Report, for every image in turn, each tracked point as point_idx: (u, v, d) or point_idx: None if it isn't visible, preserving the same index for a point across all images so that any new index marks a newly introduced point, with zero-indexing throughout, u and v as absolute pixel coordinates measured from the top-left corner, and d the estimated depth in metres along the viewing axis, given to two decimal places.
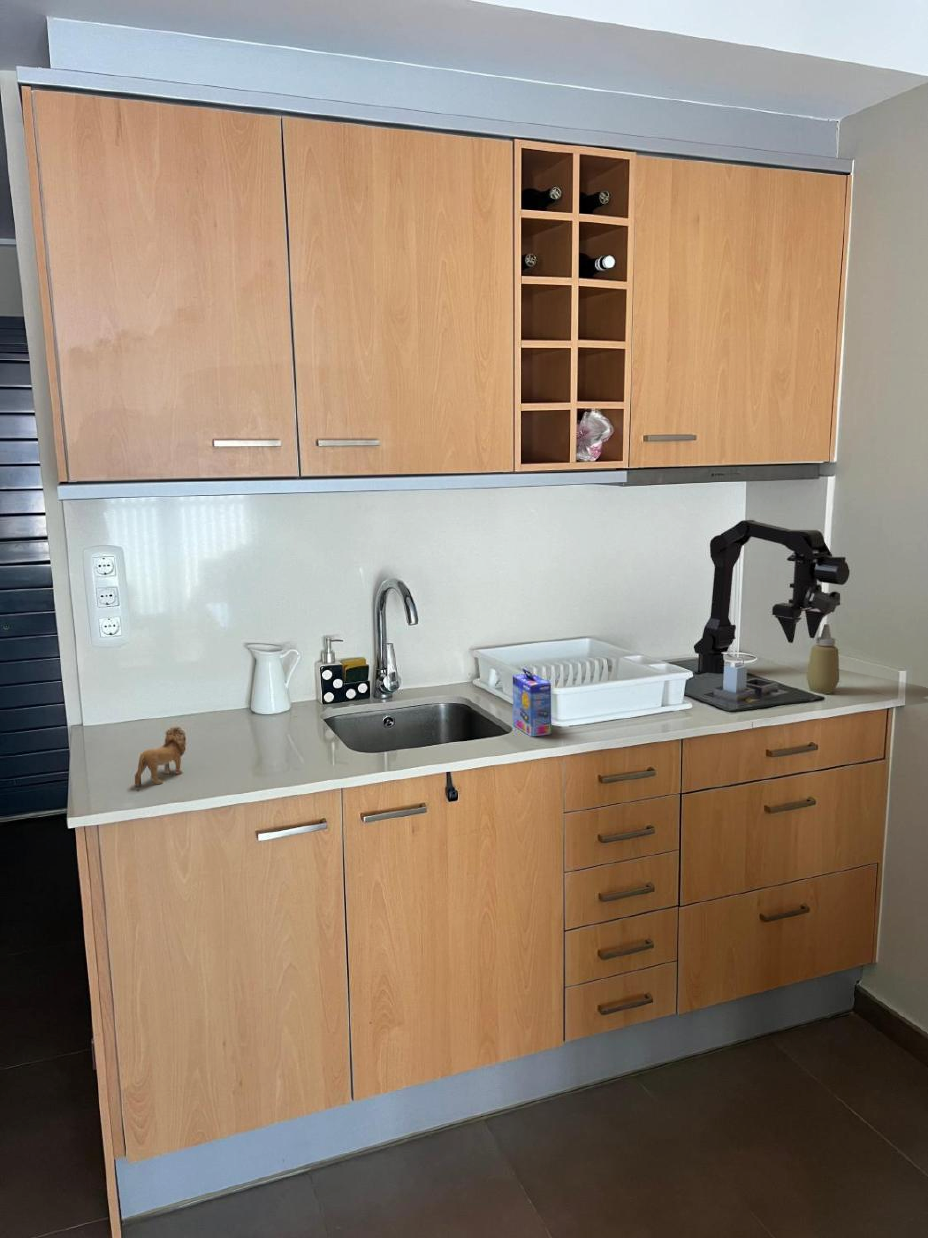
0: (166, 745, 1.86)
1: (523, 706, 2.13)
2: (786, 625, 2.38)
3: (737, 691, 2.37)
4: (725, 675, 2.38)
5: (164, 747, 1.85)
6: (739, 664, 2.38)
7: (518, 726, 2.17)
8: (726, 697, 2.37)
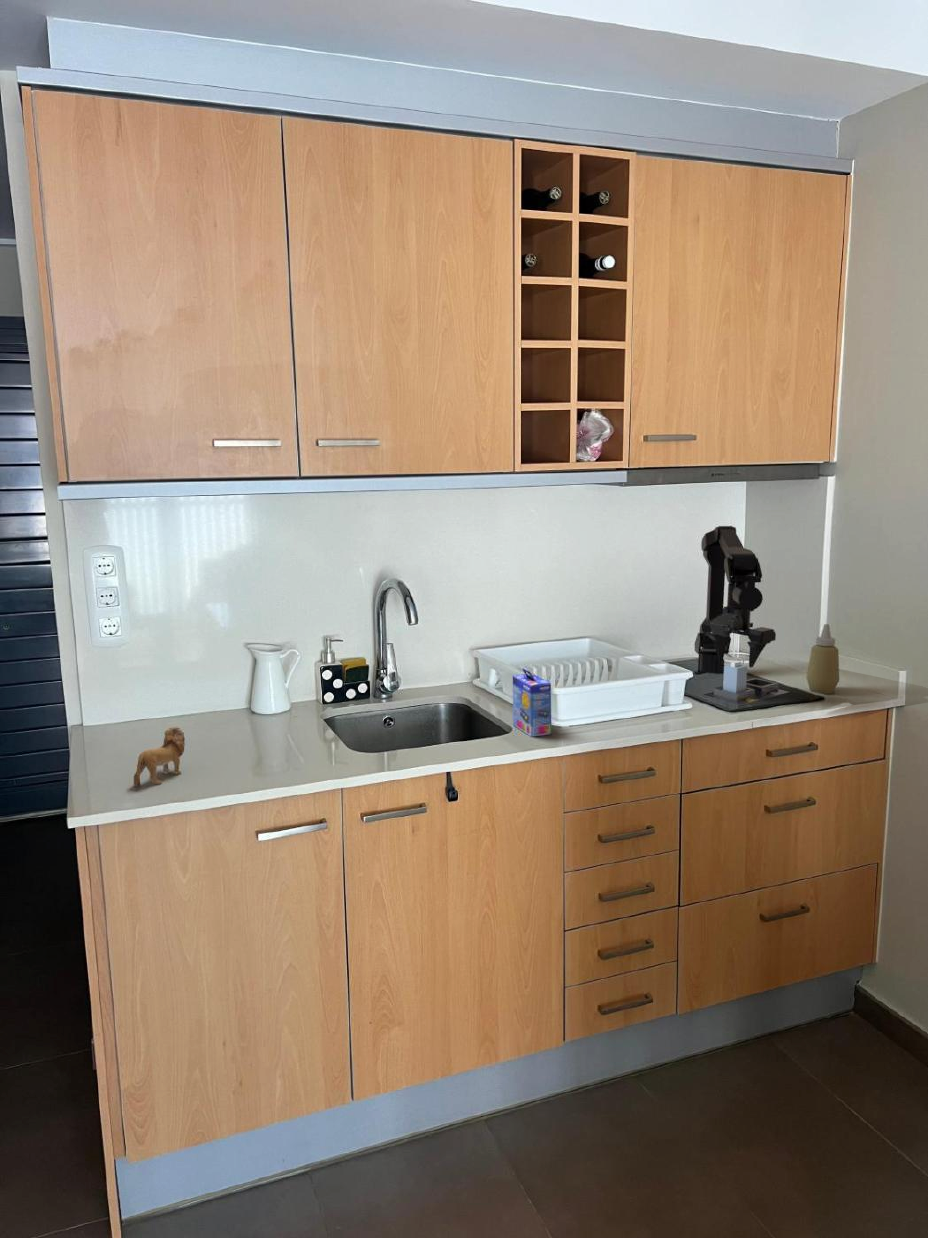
0: (165, 745, 1.86)
1: (524, 706, 2.13)
2: None
3: (737, 691, 2.37)
4: (725, 675, 2.38)
5: (163, 747, 1.85)
6: (739, 664, 2.38)
7: (518, 726, 2.17)
8: (726, 697, 2.37)
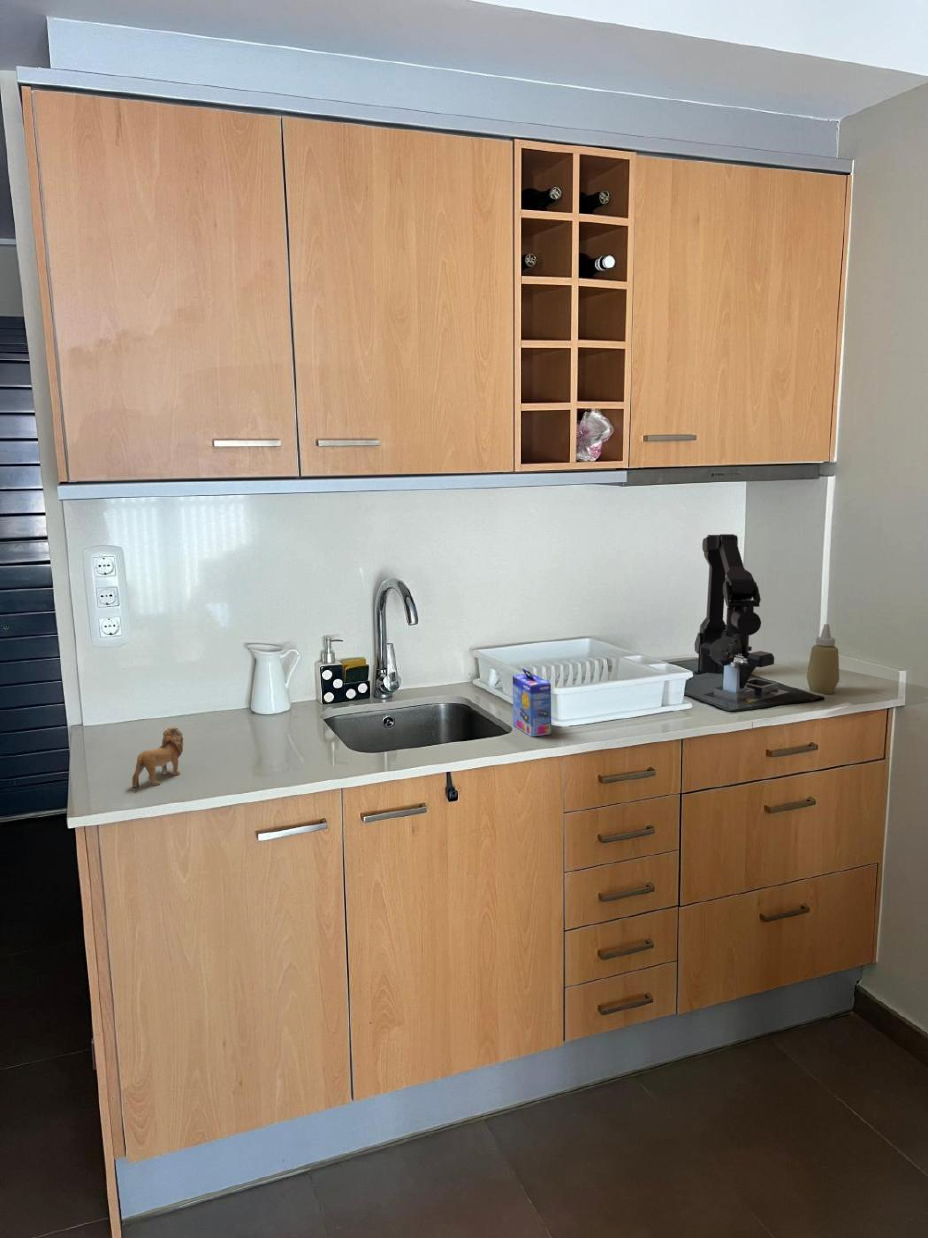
0: (163, 746, 1.85)
1: (523, 706, 2.13)
2: None
3: (737, 691, 2.37)
4: (725, 675, 2.38)
5: (162, 748, 1.85)
6: None
7: (518, 726, 2.17)
8: (726, 697, 2.37)
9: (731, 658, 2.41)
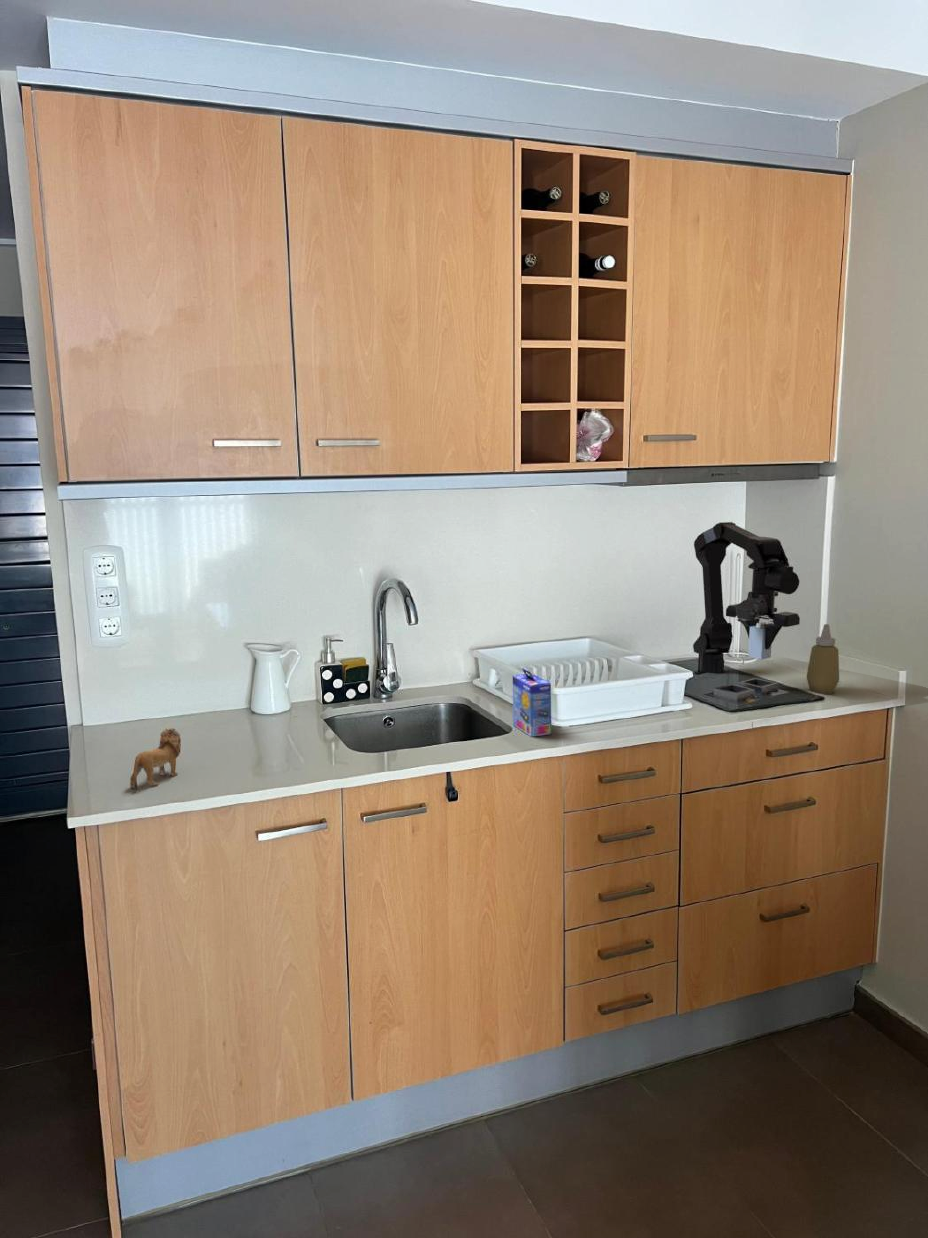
0: (161, 747, 1.85)
1: (523, 706, 2.13)
2: None
3: (762, 651, 2.41)
4: (751, 636, 2.43)
5: (159, 749, 1.84)
6: None
7: (518, 726, 2.17)
8: (726, 697, 2.37)
9: (756, 620, 2.45)
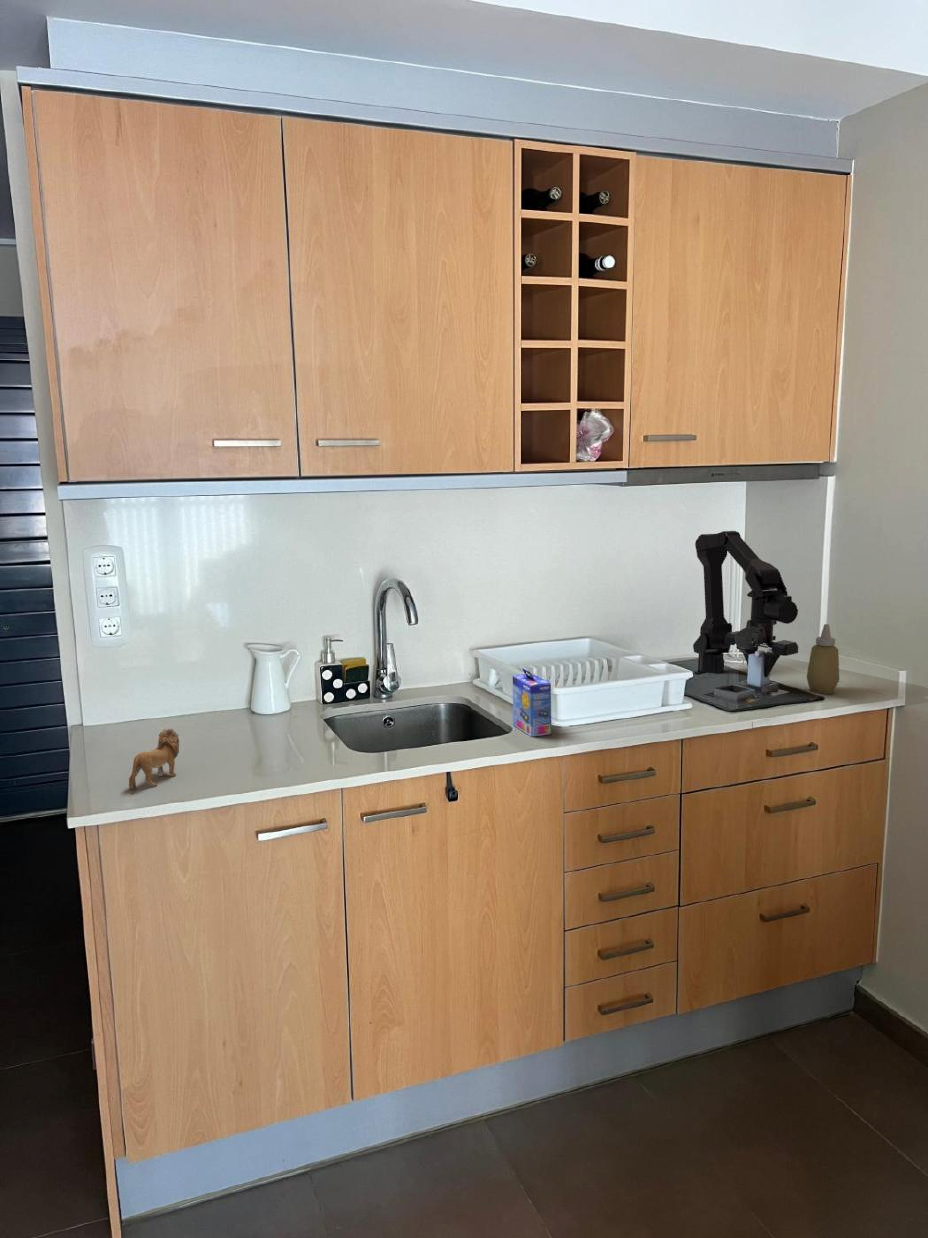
0: (160, 747, 1.85)
1: (523, 706, 2.13)
2: None
3: (761, 679, 2.42)
4: (749, 664, 2.44)
5: (158, 749, 1.84)
6: None
7: (518, 726, 2.17)
8: (726, 697, 2.37)
9: (755, 647, 2.47)
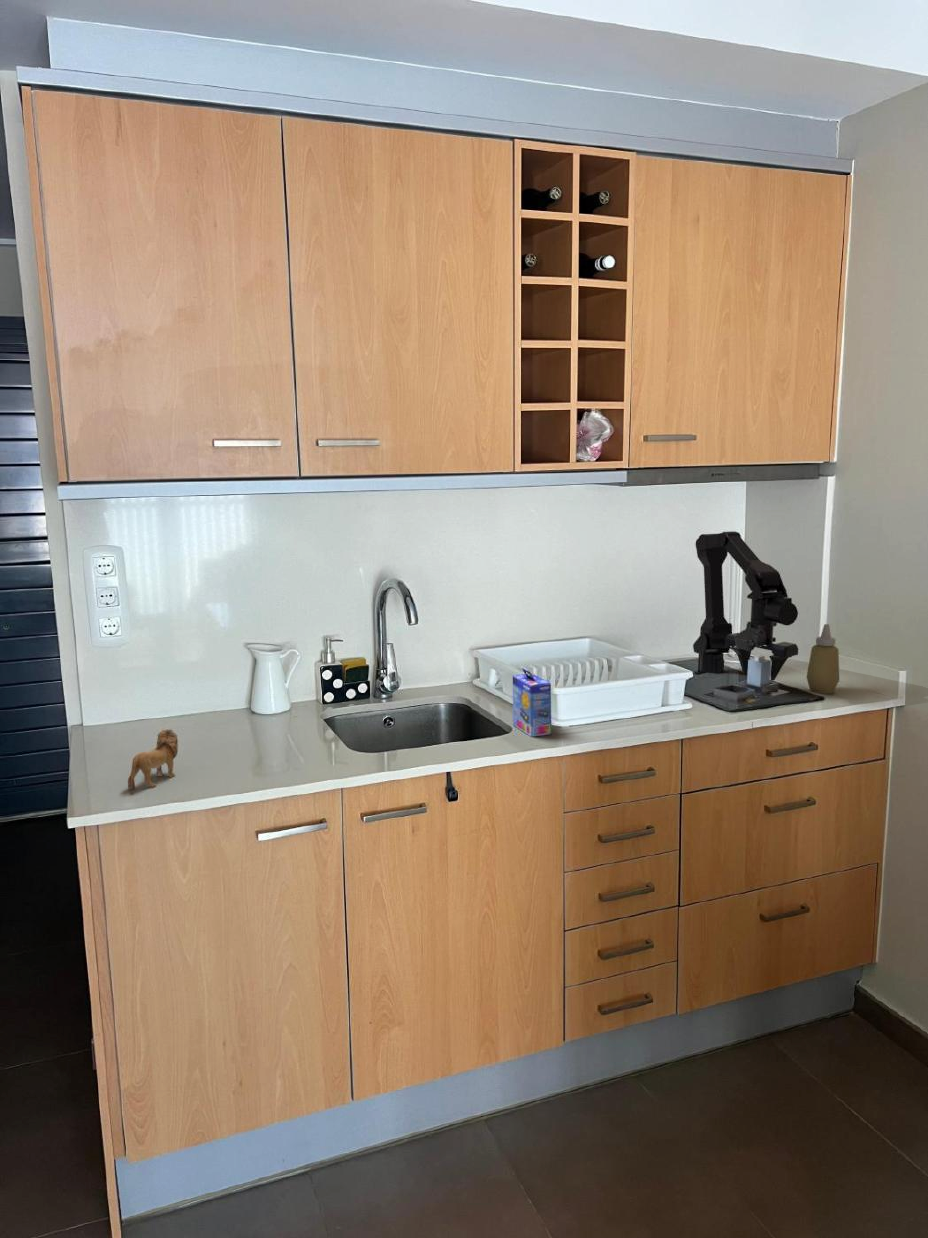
0: (159, 748, 1.84)
1: (523, 706, 2.13)
2: None
3: (761, 685, 2.43)
4: (749, 669, 2.44)
5: (157, 750, 1.84)
6: (763, 658, 2.44)
7: (518, 726, 2.17)
8: (726, 697, 2.37)
9: None
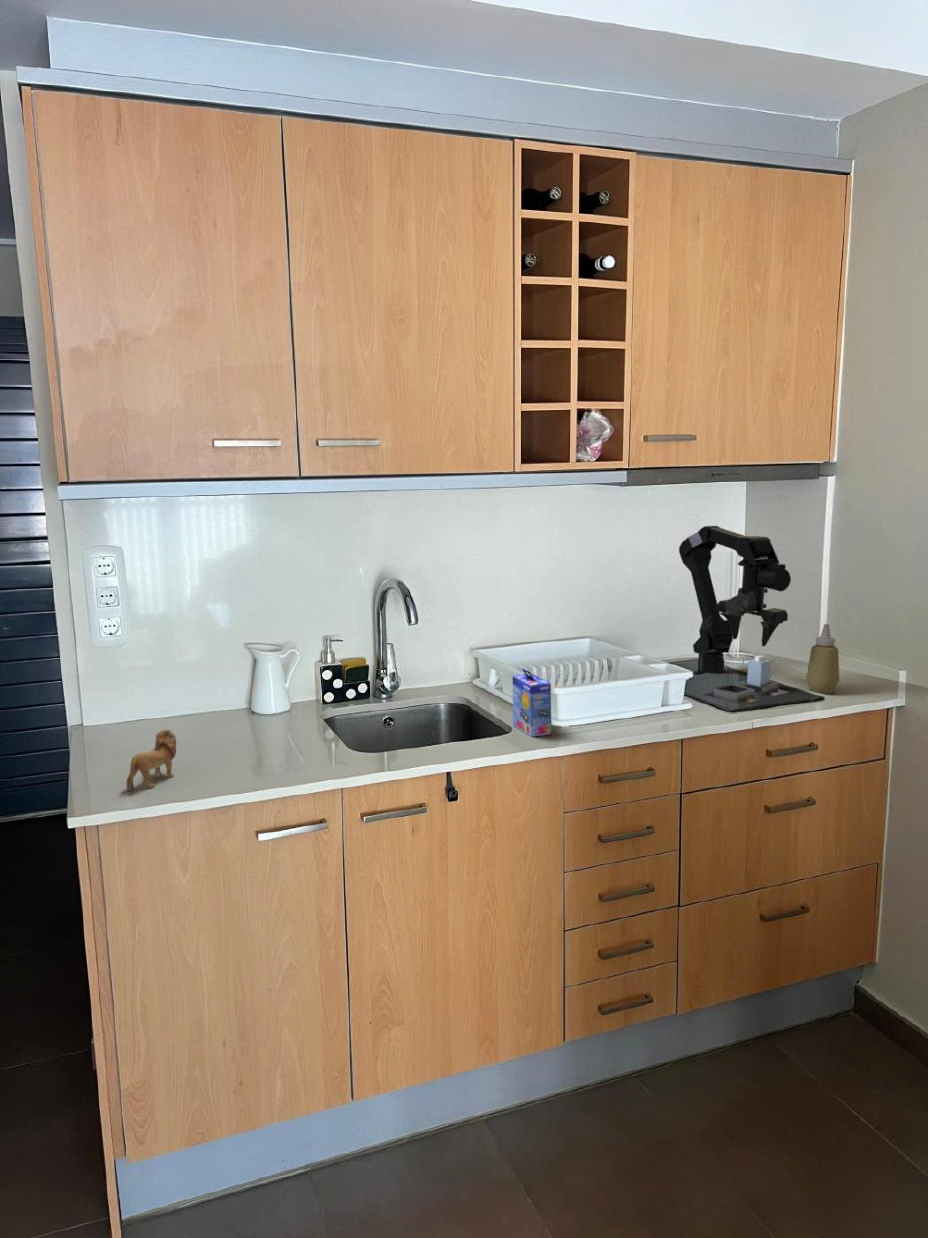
0: (157, 748, 1.84)
1: (523, 706, 2.13)
2: None
3: (761, 685, 2.43)
4: (749, 669, 2.44)
5: (155, 750, 1.83)
6: (763, 658, 2.44)
7: (518, 726, 2.17)
8: (726, 697, 2.37)
9: None
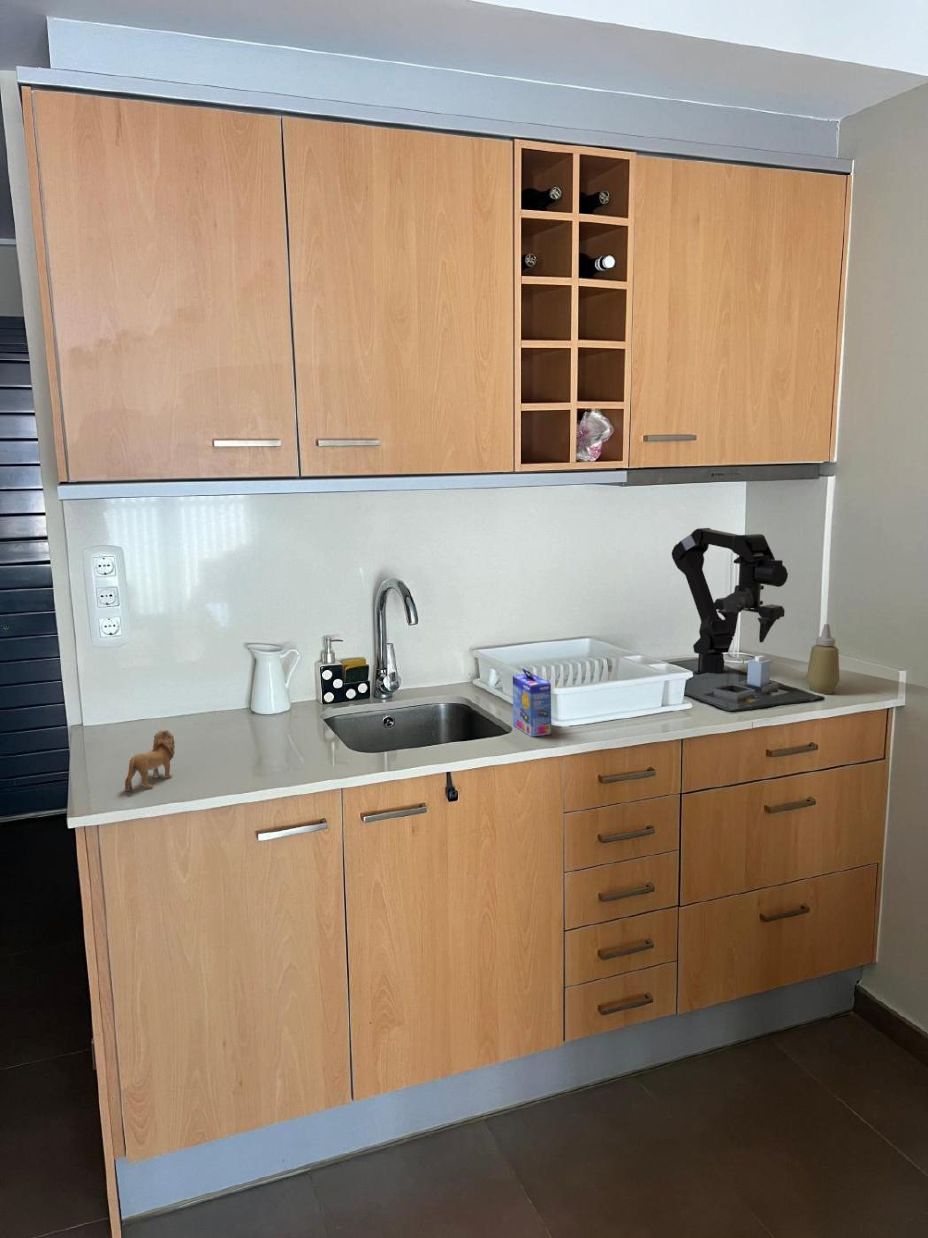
0: (155, 749, 1.84)
1: (523, 706, 2.13)
2: None
3: (761, 685, 2.43)
4: (749, 669, 2.44)
5: (154, 751, 1.83)
6: (763, 658, 2.44)
7: (518, 726, 2.17)
8: (726, 697, 2.37)
9: None
